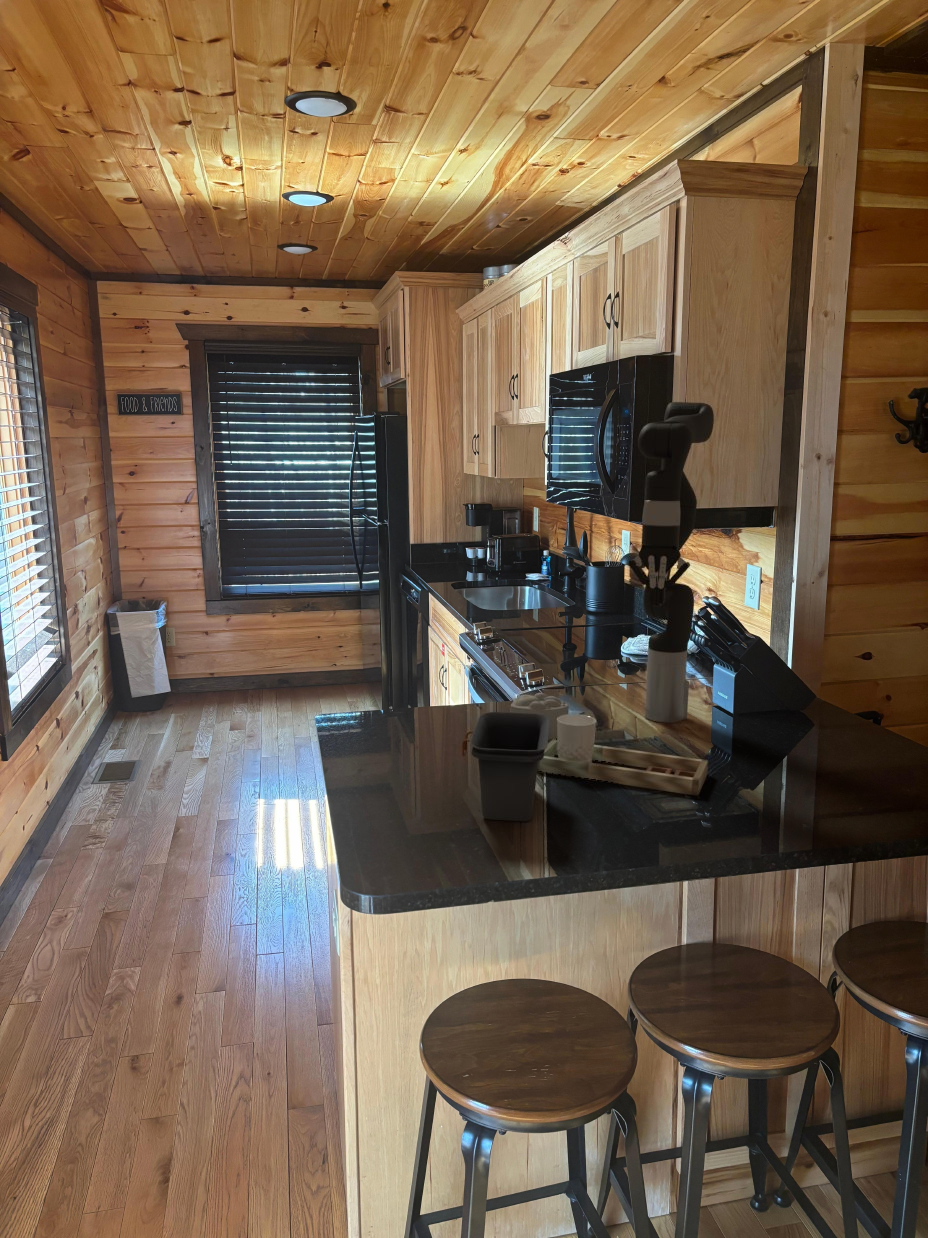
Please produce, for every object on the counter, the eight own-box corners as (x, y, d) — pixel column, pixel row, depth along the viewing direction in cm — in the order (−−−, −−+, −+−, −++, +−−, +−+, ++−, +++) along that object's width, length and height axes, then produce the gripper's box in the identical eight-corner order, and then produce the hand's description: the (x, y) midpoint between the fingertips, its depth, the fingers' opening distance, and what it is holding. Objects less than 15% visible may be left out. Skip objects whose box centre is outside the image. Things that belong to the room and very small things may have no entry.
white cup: (584, 776, 178) (586, 727, 176) (548, 768, 182) (550, 721, 180) (600, 764, 184) (602, 718, 182) (565, 757, 188) (567, 712, 186)
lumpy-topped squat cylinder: (514, 725, 211) (515, 689, 209) (569, 728, 208) (570, 693, 207) (508, 738, 201) (508, 701, 199) (565, 742, 198) (567, 705, 197)
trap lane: (707, 774, 179) (708, 760, 178) (697, 795, 168) (698, 780, 167) (552, 752, 191) (552, 739, 191) (534, 770, 180) (534, 756, 180)
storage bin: (545, 830, 152) (547, 749, 149) (454, 825, 153) (455, 745, 151) (548, 785, 172) (550, 714, 170) (468, 781, 174) (469, 710, 172)
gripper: (696, 522, 184) (691, 605, 188) (633, 520, 189) (629, 600, 193) (691, 525, 178) (686, 611, 181) (625, 522, 183) (621, 606, 186)
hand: (656, 605), depth 187 cm, fingers closed
